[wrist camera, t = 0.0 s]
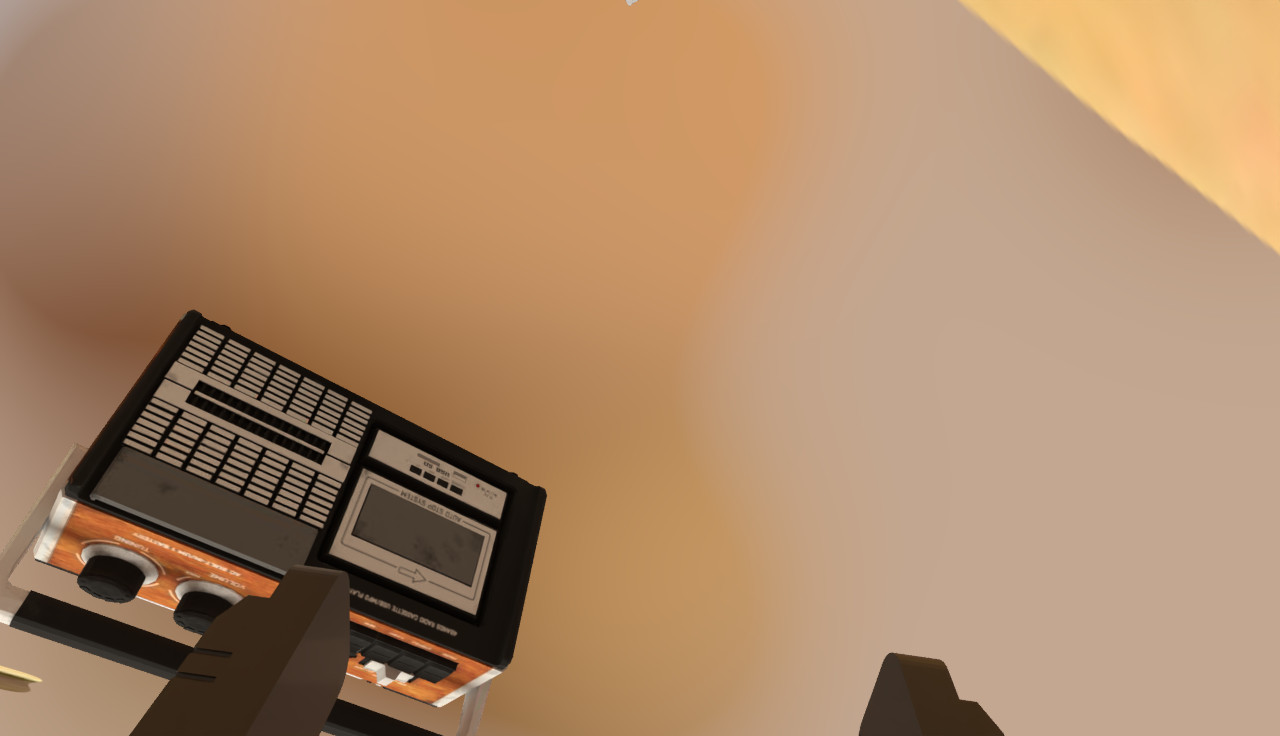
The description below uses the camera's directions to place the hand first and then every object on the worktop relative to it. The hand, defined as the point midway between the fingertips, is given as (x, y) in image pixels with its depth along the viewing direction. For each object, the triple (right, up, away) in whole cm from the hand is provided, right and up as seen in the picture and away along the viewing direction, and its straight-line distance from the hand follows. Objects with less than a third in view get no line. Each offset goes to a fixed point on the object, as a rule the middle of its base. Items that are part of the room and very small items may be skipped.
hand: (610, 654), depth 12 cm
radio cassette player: (-20, 0, +49) cm, 53 cm away
